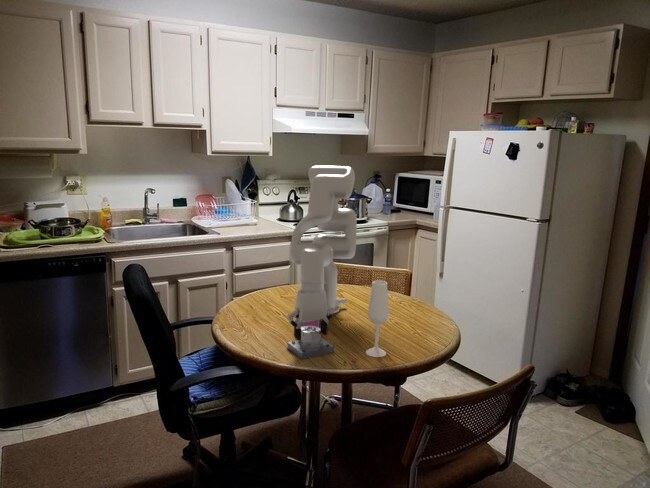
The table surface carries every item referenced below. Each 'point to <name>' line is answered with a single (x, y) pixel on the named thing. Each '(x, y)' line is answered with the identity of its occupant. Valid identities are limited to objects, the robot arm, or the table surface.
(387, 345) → the table surface
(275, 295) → the table surface
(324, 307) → the robot arm
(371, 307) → the champagne flute
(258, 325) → the table surface
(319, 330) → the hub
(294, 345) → the shaft block
